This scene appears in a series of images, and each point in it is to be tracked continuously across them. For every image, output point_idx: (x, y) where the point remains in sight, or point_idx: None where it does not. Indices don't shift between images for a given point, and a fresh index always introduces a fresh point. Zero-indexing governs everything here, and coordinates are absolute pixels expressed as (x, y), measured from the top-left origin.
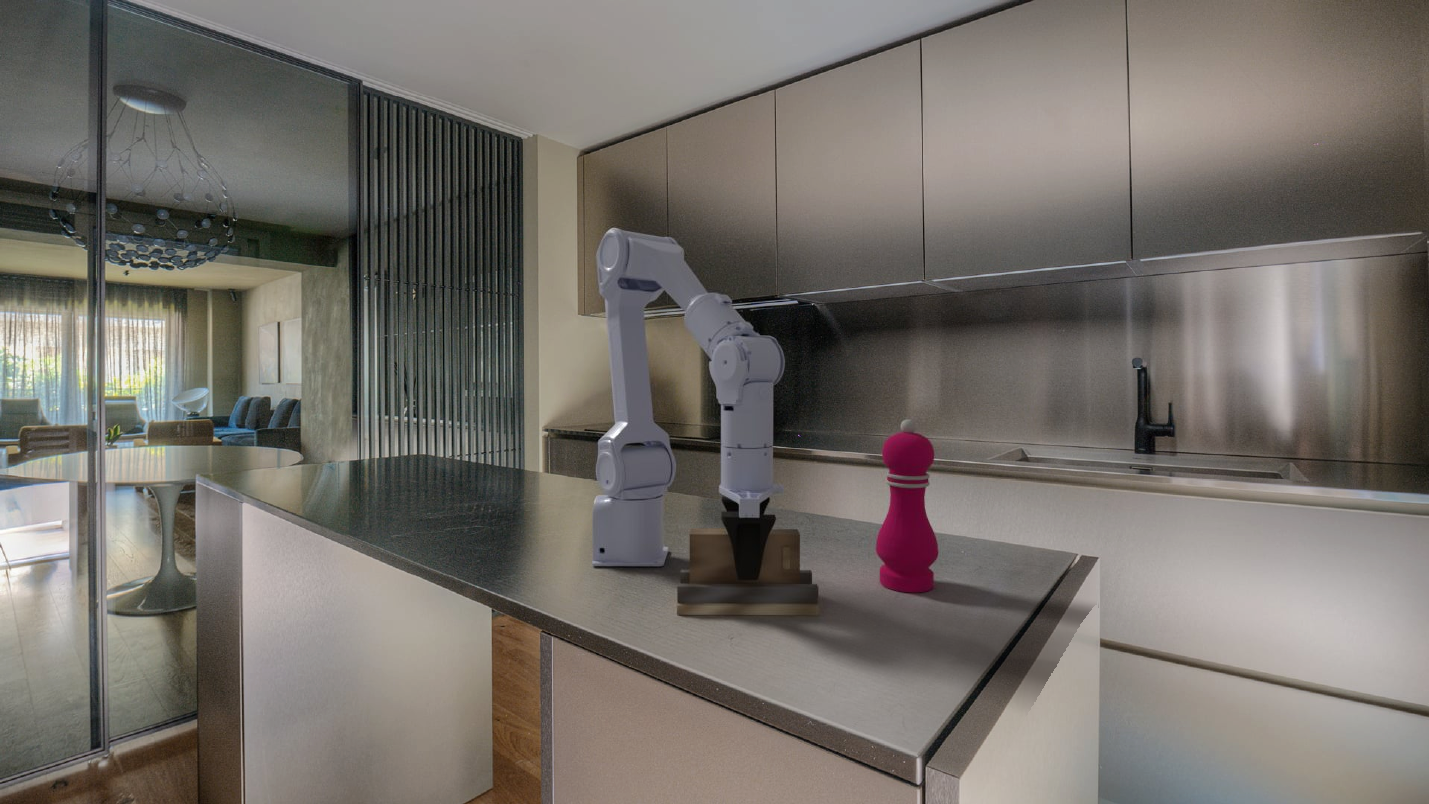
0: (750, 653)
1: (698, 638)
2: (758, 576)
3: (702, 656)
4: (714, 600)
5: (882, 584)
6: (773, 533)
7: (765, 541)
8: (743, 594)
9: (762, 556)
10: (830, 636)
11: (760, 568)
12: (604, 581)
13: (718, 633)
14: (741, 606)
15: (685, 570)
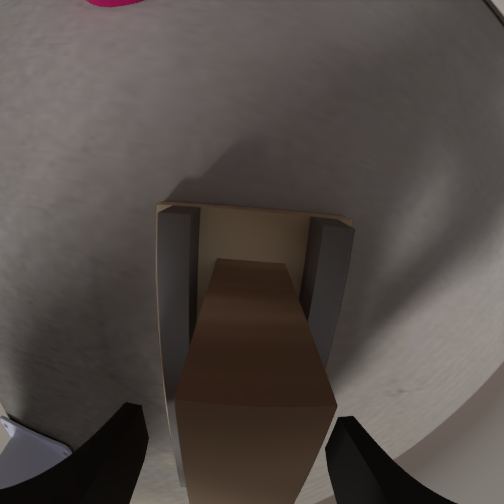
0: (452, 362)
1: (384, 427)
2: (357, 421)
3: (433, 412)
4: None
5: (137, 1)
6: (279, 491)
7: (429, 489)
8: None
9: (390, 458)
10: (445, 223)
11: (367, 434)
12: (146, 498)
13: (378, 408)
14: None
15: (185, 484)
